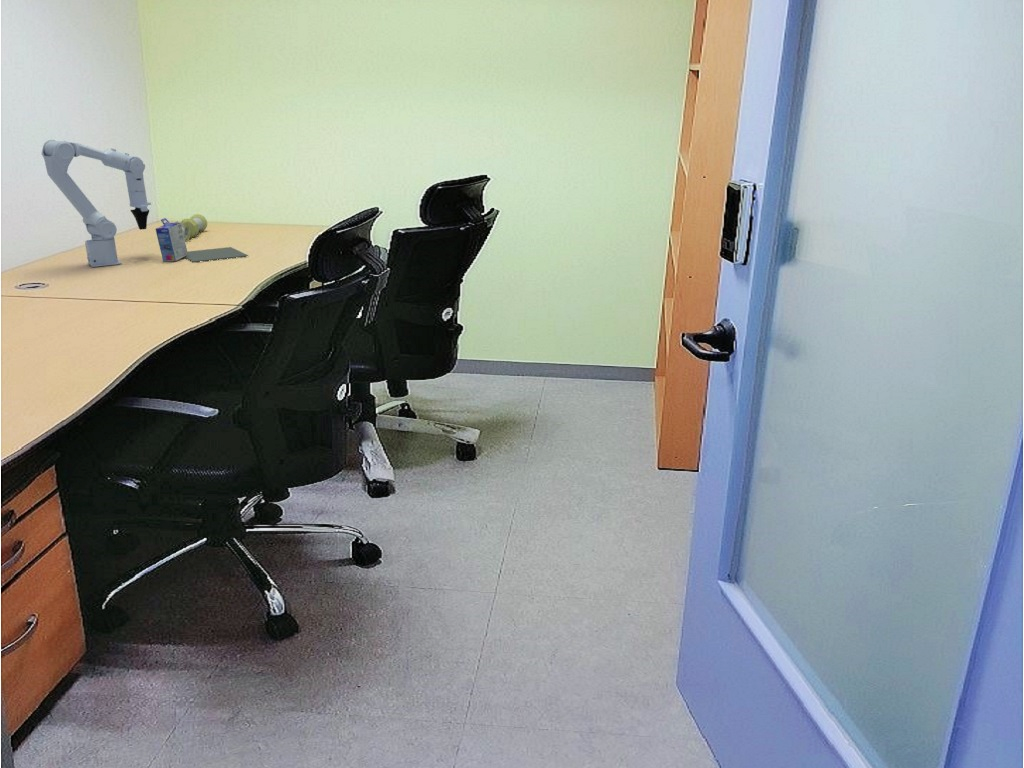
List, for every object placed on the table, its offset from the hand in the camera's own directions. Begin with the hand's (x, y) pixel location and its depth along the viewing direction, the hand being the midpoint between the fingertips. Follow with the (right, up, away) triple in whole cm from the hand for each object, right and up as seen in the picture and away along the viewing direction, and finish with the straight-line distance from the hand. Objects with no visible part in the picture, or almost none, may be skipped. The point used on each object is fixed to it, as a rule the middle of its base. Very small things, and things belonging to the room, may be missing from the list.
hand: (142, 229), depth 301 cm
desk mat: (+22, -8, +8) cm, 25 cm away
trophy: (0, +5, +45) cm, 45 cm away
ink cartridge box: (+11, -11, +1) cm, 16 cm away
